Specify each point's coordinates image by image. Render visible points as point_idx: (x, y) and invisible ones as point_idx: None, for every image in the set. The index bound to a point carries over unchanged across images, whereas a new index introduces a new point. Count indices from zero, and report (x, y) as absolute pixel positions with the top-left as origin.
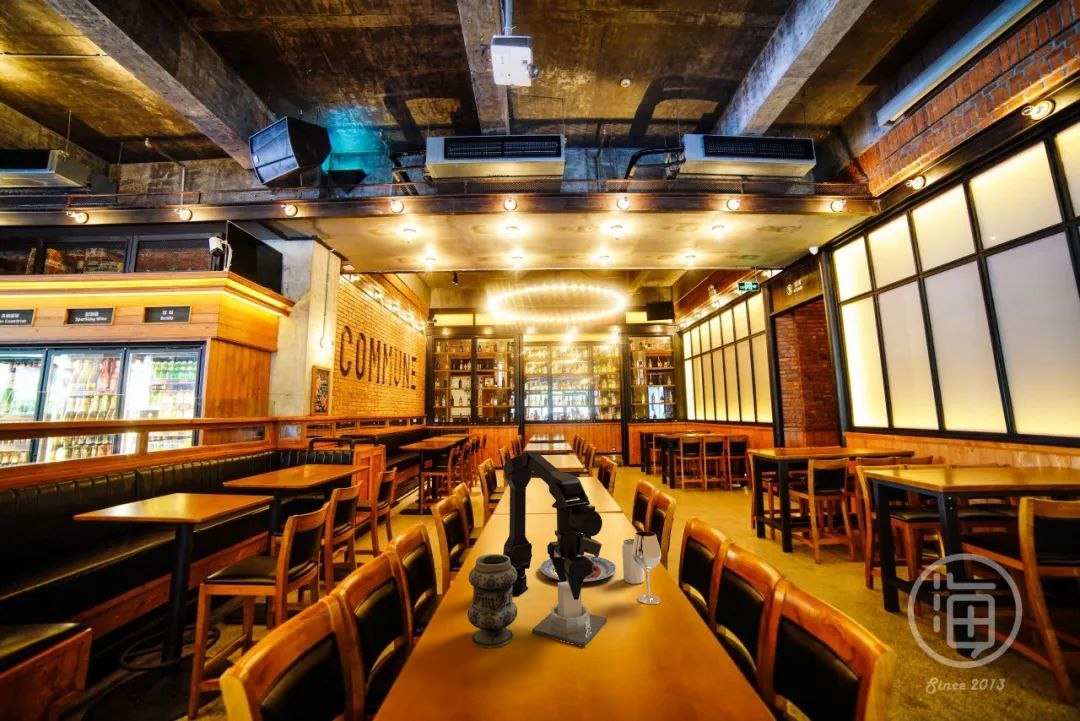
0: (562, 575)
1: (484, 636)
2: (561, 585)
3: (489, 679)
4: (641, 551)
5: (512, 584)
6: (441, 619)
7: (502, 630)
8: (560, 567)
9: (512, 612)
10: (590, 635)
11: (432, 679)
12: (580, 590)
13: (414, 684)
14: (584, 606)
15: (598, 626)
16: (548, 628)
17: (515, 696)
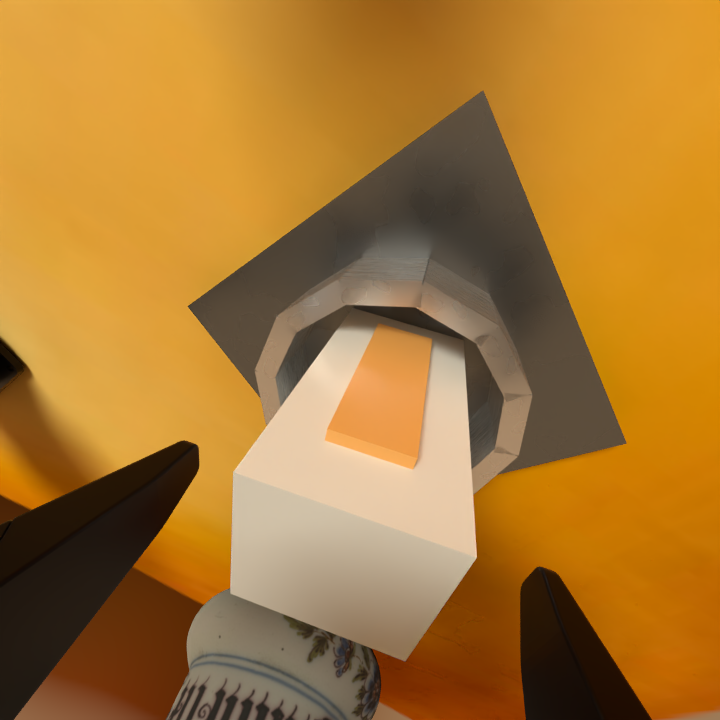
0: (116, 551)
1: None
2: (305, 615)
3: (510, 670)
4: None
5: None
6: (162, 582)
7: None
8: (8, 669)
9: (354, 687)
10: (595, 376)
11: (420, 700)
12: (639, 702)
13: (416, 714)
14: (388, 295)
15: (548, 259)
16: None
17: (633, 686)
